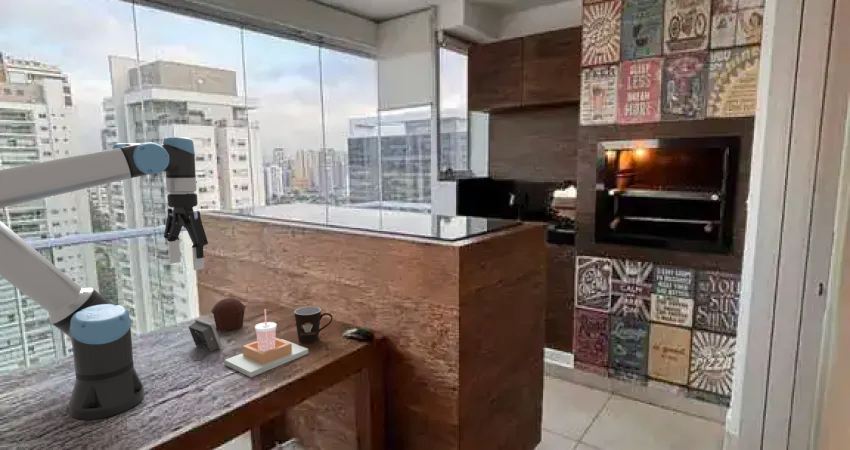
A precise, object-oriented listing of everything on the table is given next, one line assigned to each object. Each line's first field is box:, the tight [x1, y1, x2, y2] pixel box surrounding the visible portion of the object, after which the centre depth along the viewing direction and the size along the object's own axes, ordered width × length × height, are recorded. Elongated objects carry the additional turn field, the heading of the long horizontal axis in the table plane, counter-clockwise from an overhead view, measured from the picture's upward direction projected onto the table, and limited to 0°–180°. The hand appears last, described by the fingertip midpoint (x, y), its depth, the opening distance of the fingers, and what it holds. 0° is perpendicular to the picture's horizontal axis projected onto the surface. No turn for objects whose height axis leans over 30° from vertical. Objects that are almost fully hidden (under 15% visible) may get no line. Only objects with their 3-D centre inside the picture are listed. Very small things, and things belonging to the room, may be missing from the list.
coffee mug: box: [293, 306, 333, 344], centre depth 154 cm, size 12×9×10 cm
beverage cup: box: [254, 308, 277, 352], centre depth 138 cm, size 6×6×14 cm
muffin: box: [211, 297, 247, 332], centre depth 165 cm, size 12×11×10 cm
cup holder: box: [224, 336, 309, 378], centre depth 139 cm, size 20×13×4 cm, turn 144°
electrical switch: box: [188, 318, 223, 353], centre depth 146 cm, size 9×5×9 cm, turn 57°
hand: (186, 266), depth 134 cm, fingers open, 13 cm apart
